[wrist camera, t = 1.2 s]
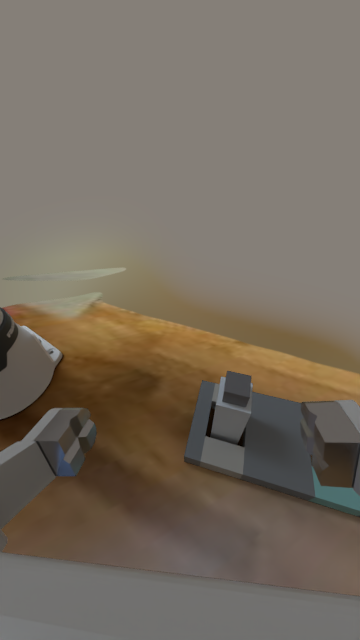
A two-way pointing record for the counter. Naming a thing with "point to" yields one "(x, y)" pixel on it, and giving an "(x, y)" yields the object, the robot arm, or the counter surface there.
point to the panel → (265, 451)
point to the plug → (232, 407)
